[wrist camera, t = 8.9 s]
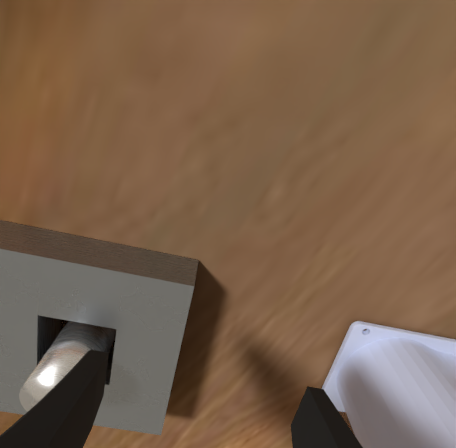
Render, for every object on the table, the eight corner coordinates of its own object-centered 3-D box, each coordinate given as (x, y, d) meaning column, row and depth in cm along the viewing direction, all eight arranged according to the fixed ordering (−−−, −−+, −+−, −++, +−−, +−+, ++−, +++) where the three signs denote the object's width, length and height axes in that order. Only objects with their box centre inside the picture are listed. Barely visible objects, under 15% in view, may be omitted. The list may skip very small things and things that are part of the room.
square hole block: (198, 260, 20) (194, 286, 17) (168, 396, 24) (160, 435, 21) (-145, 190, 18) (-212, 207, 15) (-113, 351, 22) (-160, 386, 20)
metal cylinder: (120, 307, 21) (84, 381, 16) (118, 344, 22) (83, 426, 17) (72, 300, 21) (17, 373, 15) (71, 338, 22) (20, 419, 17)
